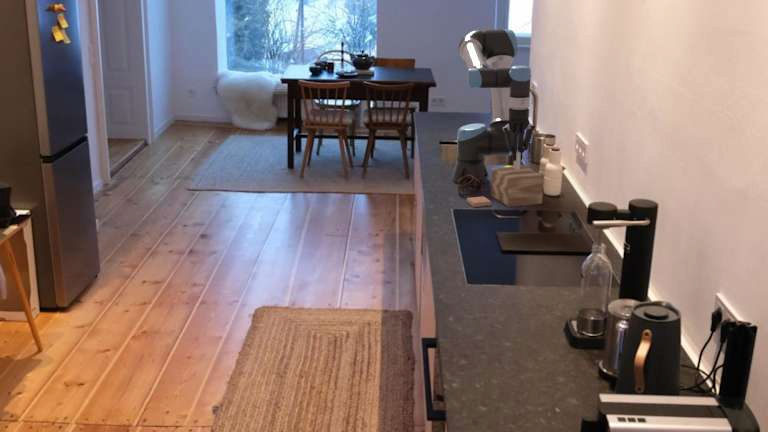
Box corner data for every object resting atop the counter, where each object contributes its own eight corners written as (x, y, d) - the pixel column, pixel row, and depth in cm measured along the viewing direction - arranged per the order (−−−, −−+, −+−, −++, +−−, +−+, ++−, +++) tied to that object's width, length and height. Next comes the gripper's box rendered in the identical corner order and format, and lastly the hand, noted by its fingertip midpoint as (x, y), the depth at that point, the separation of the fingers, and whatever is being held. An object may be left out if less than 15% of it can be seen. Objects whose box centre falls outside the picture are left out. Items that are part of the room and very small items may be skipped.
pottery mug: (485, 197, 338) (476, 181, 334) (463, 206, 340) (454, 190, 336) (483, 181, 348) (475, 165, 344) (462, 190, 350) (453, 175, 346)
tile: (483, 196, 332) (483, 201, 332) (466, 198, 330) (466, 203, 330) (491, 201, 325) (490, 206, 326) (473, 202, 323) (473, 208, 324)
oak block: (491, 195, 338) (491, 168, 334) (523, 192, 342) (524, 165, 338) (508, 206, 323) (509, 178, 320) (542, 203, 327) (543, 175, 324)
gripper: (507, 110, 316) (505, 172, 323) (539, 108, 320) (536, 169, 327) (499, 107, 323) (497, 167, 330) (530, 104, 326) (527, 164, 334)
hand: (516, 168), depth 329 cm, fingers closed
